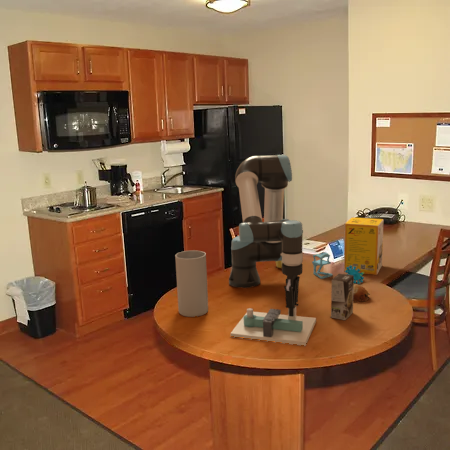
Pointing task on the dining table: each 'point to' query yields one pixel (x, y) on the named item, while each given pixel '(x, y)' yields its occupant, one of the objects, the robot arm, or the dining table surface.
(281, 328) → the latch bar
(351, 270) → the gear
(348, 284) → the coffee box
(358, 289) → the bread roll
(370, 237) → the packaging box
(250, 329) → the base plate
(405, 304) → the dining table surface
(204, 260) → the cylinder vase
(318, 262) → the chair
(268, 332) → the bar
